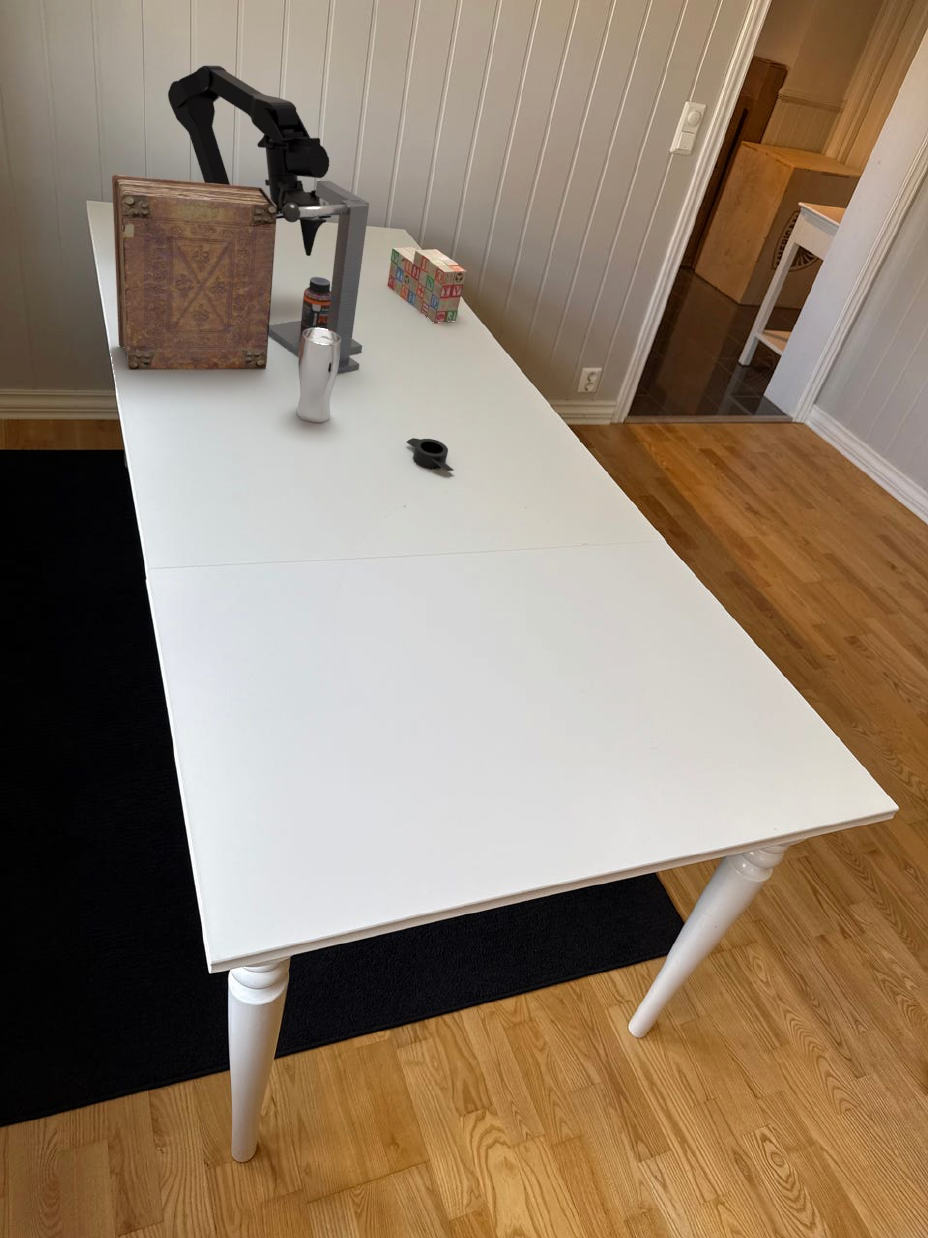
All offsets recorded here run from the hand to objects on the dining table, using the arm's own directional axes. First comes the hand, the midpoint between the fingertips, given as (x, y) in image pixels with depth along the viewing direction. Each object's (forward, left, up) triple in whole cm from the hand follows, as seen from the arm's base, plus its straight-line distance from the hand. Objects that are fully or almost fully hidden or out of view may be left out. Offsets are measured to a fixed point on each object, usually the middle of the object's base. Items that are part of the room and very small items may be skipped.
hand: (290, 258), depth 182 cm
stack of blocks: (+33, +13, -12) cm, 37 cm away
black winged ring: (+19, -58, -12) cm, 62 cm away
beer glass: (0, -44, -12) cm, 46 cm away
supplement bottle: (+4, -14, -10) cm, 18 cm away
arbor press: (+1, -19, -12) cm, 22 cm away
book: (-20, -25, -12) cm, 34 cm away
